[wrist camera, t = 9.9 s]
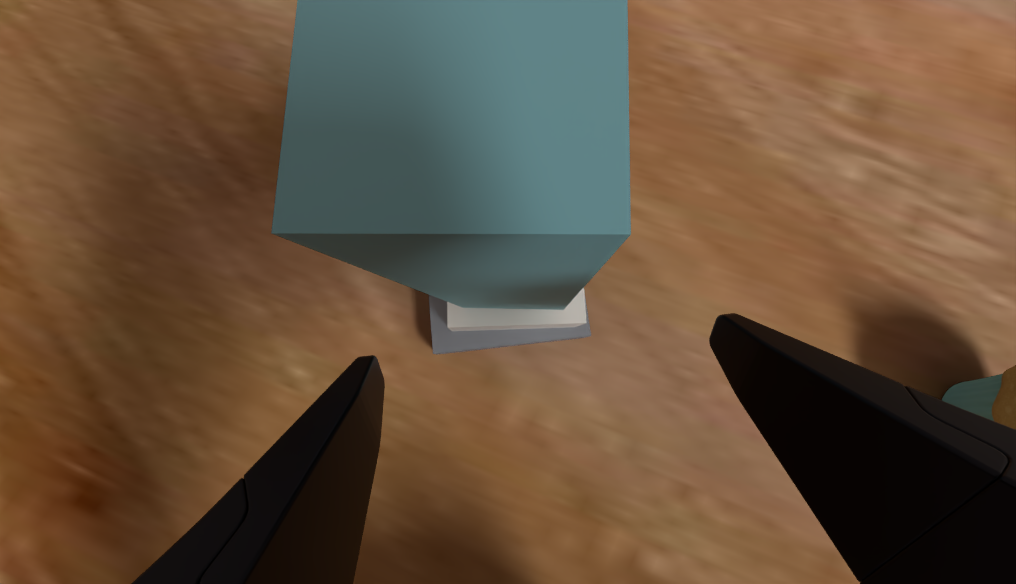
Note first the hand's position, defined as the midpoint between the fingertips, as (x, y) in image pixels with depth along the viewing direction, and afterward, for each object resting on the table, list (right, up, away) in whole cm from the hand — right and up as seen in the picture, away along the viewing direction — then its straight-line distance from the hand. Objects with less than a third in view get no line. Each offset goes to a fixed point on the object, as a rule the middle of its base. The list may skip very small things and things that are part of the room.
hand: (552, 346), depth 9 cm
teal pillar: (-1, +3, +9) cm, 9 cm away
